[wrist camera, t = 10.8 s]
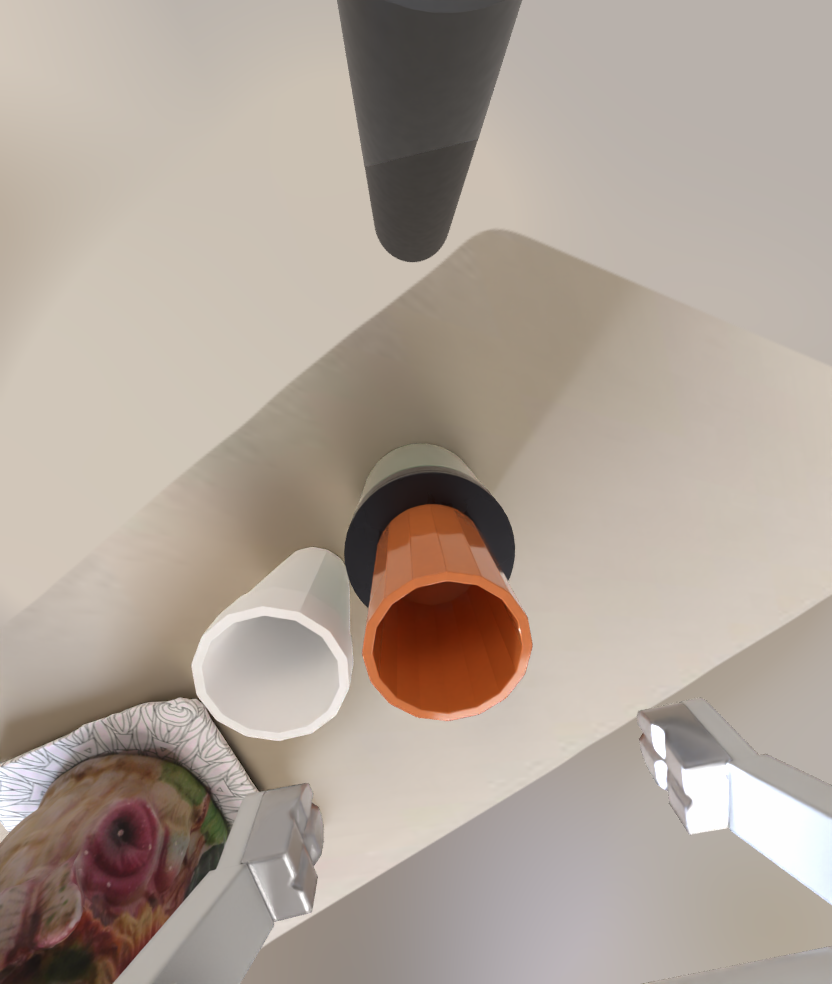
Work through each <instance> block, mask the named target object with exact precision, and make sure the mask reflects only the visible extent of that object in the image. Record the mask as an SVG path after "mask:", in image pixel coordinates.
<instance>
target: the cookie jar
mask: <svg viewBox="0 0 832 984" xmlns="http://www.w3.org/2000/svg"><path fill="white" fill-rule="evenodd" d="M257 792H259V791H258V790H257V788H256V787H255V785H254V784H253V782H252V781H251V779H250V778H249V776H248V775H247V773H246V771H245V770H244V768H243V767H242V765H241V764H240V762H239V761H238V759H237V757H236V756H235V754H234V753H233V751H232V750H231V748H230V747H229V745H228V744H227V742H226V740H225V739H224V737H223V736H222V734H221V733H220V731H219V730H218V728H217V727H216V726H215V724H214V723H213V721H212V720H211V718H210V716H209V714H208V712H207V710H206V708H205V706H204V705H203V704H202V703H201V702H200V701H199V700H197V699H190V700H188V698H182V697H179V698H177V699H174V700H170V701H162V702H148V703H144V704H140V705H137V706H134V707H132V708H129V709H127V710H124V711H123V712H121V713H116V714H111V715H110V716H108V717H106V718H102V719H99V720H96V721H93V722H90V723H87V724H83V725H82V726H81V727H80V728H79V729H77V730H74V731H73V732H72V733H70V734H68V735H66V736H63V737H61V738H59V739H56V740H54V741H52V742H49V743H47V744H45V745H42V746H40V747H38V748H35V749H33V750H31V751H29V752H26V753H24V754H22V755H20V756H17V757H15V758H13V759H10V760H8V761H5V762H3V763H1V764H0V822H1V823H2V824H3V825H4V827H5V828H6V829H7V831H9V832H10V833H9V834H8V835H7V836H6V837H5V839H4V840H3V841H2V842H1V843H0V984H113V983H114V981H115V980H116V979H117V978H118V977H119V976H120V974H121V973H122V972H123V971H124V970H125V969H126V968H127V966H128V965H129V964H130V963H131V962H132V961H133V959H134V958H135V957H136V956H137V955H138V954H139V952H140V951H141V950H142V949H143V948H144V947H145V946H146V944H147V943H148V942H149V941H150V940H151V939H152V937H153V936H154V935H155V934H156V933H157V932H158V930H159V929H160V928H161V927H162V926H163V925H164V923H165V922H166V921H167V920H168V919H169V918H170V917H171V915H172V914H173V913H174V912H175V911H176V910H177V908H178V907H179V906H180V905H181V904H182V903H183V901H184V900H185V899H186V898H187V897H188V896H189V894H190V893H191V892H192V891H193V890H194V889H195V888H196V886H197V885H198V884H199V883H200V882H201V881H202V879H203V878H204V877H205V876H206V875H207V874H208V872H209V871H212V870H216V868H217V866H218V863H219V860H220V858H221V855H222V852H223V850H224V847H225V844H226V842H227V839H228V836H229V834H230V831H231V829H232V826H233V823H234V821H235V818H236V815H237V813H238V810H239V807H240V805H241V802H242V800H243V799H244V798H245V797H246V795H247V794H252V793H257Z"/></svg>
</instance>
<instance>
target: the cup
mask: <svg viewBox="0 0 832 984" xmlns="http://www.w3.org/2000/svg"><path fill="white" fill-rule="evenodd" d="M532 645H533V644H532V639H531V633H530V628H529V622H528V617H527V615H526V613H525V611H524V610H523V608H522V606H521V604H520V602H519V600H518V599H517V597H516V595H515V593H514V591H513V589H512V588H511V586H510V584H509V582H508V580H507V578H506V577H505V575H504V573H503V571H502V569H501V567H500V566H499V564H498V562H497V560H496V558H495V556H494V555H493V553H492V551H491V549H490V547H489V545H488V544H487V542H486V540H485V538H484V537H483V535H482V534H481V532H480V531H479V529H478V528H477V526H476V525H475V524H474V522H473V521H472V520H471V519H470V518H469V517H468V516H466V515H465V514H463V513H462V512H460V511H458V510H456V509H454V508H451V507H449V506H444V505H438V504H426V505H420V506H416V507H413V508H410V509H408V510H406V511H404V512H402V513H401V514H399V515H398V516H397V517H395V518H394V519H393V520H392V521H391V522H390V523H389V524H388V525H387V527H386V528H385V529H384V531H383V533H382V535H381V537H380V540H379V542H378V546H377V553H376V559H375V566H374V573H373V580H372V586H371V593H370V600H369V607H368V614H367V621H366V628H365V635H364V642H363V649H362V656H363V659H364V662H365V666H366V669H367V672H368V676H369V679H370V681H371V683H372V684H373V685H374V686H375V688H376V689H377V690H378V691H379V692H380V693H381V694H382V695H383V697H384V698H385V699H386V700H387V701H388V702H389V703H390V704H391V705H393V706H395V707H397V708H399V709H401V710H403V711H405V712H407V713H409V714H411V715H413V716H415V717H418V718H426V719H434V720H443V721H448V720H449V721H451V720H456V719H461V718H465V717H470V716H474V715H479V714H481V713H483V712H484V711H486V710H488V709H489V708H491V707H493V706H494V705H496V704H498V703H499V702H501V701H502V700H504V699H506V698H507V697H508V695H509V694H510V693H511V692H512V690H513V689H514V688H515V686H516V685H517V684H518V683H519V681H520V680H521V679H522V678H523V676H524V675H525V673H526V669H527V665H528V661H529V658H530V654H531V650H532Z"/></svg>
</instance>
